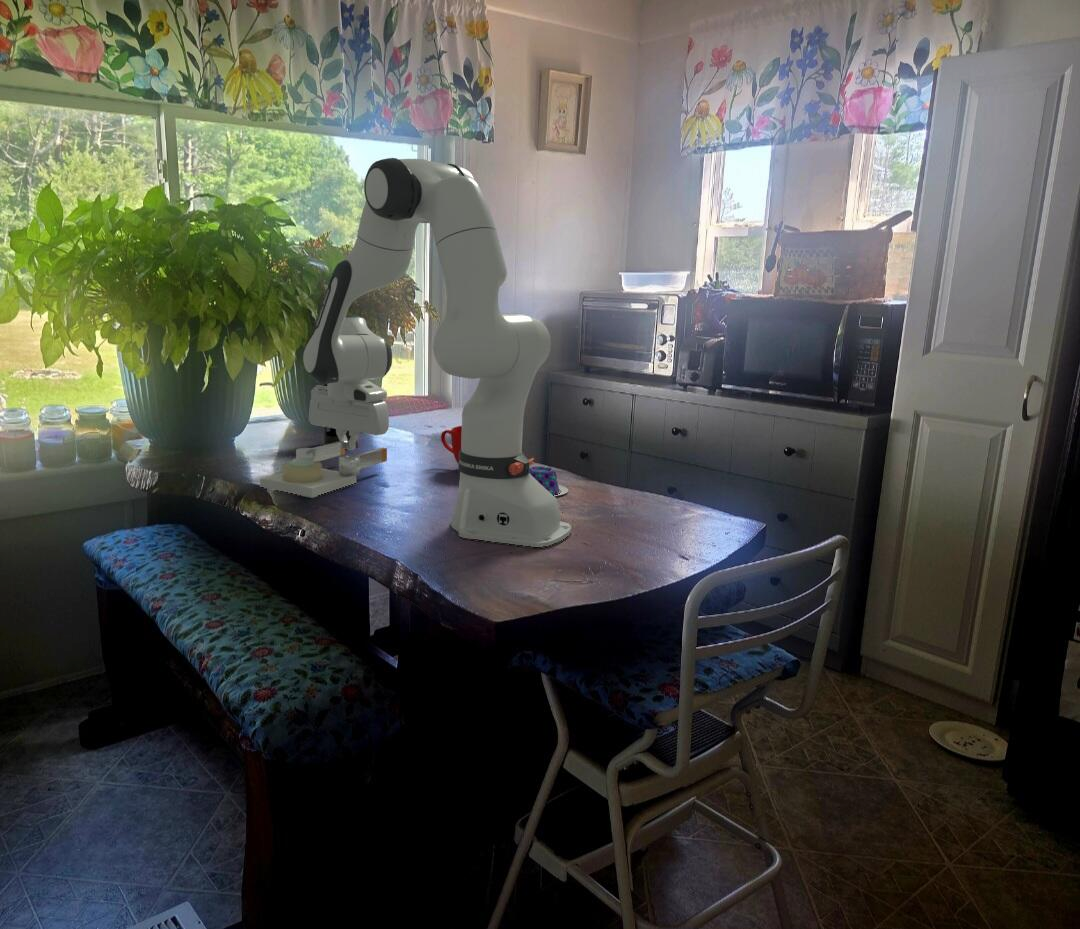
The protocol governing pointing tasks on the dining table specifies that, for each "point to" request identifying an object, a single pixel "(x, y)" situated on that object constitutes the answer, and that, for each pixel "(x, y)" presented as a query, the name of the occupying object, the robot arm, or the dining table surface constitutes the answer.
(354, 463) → the near knob
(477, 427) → the robot arm
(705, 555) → the dining table surface
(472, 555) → the dining table surface
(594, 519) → the dining table surface
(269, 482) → the base
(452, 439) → the ceramic cup
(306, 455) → the far knob
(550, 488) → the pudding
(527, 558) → the dining table surface
